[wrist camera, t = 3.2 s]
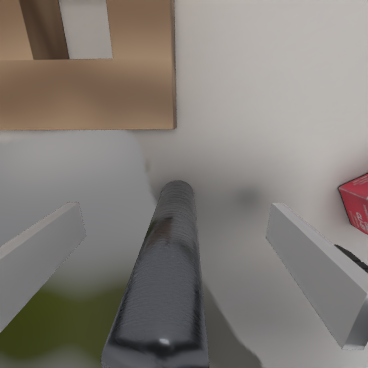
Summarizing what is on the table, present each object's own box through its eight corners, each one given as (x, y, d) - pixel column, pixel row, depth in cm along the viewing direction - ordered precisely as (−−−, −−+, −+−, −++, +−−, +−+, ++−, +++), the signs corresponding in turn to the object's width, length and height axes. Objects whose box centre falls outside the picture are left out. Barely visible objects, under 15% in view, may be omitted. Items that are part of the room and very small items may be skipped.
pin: (194, 210, 17) (207, 397, 5) (162, 210, 17) (109, 394, 5) (194, 180, 16) (211, 330, 4) (160, 180, 16) (91, 328, 4)
